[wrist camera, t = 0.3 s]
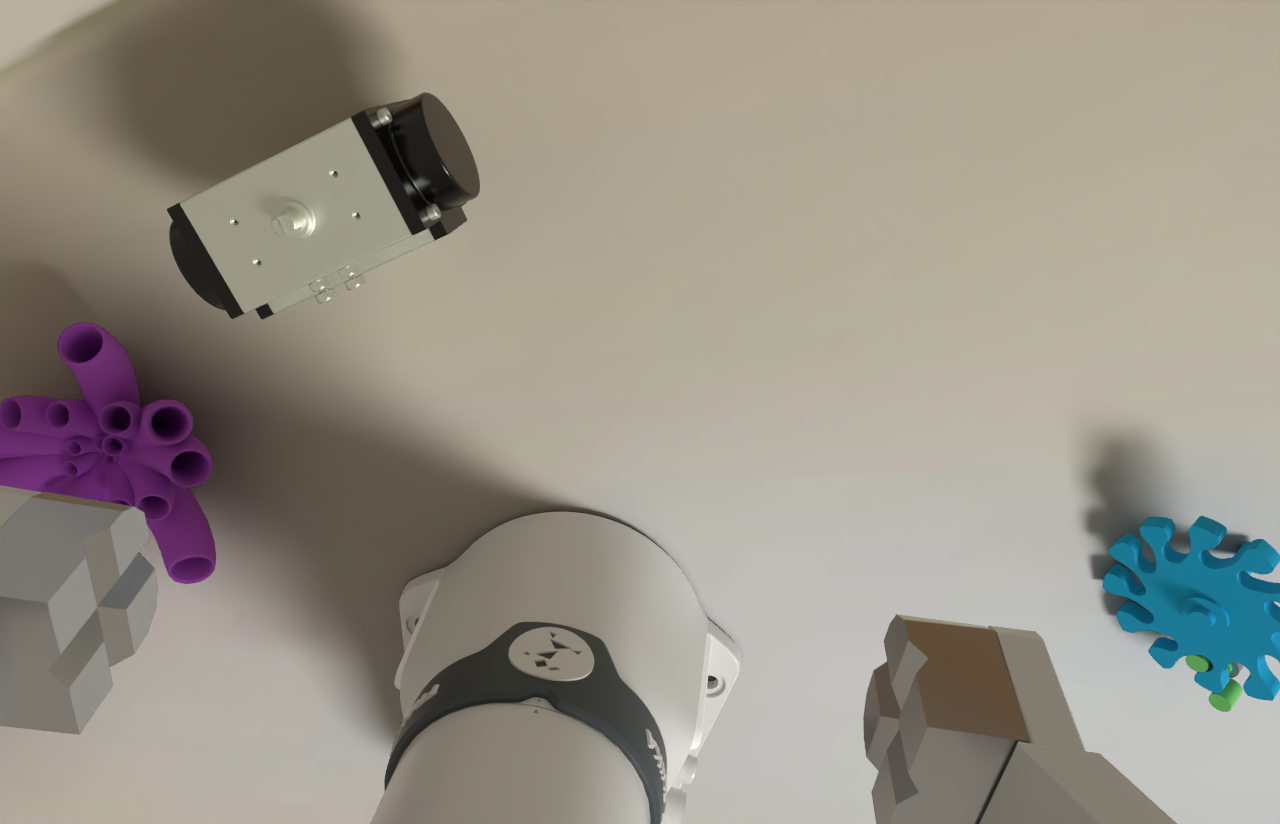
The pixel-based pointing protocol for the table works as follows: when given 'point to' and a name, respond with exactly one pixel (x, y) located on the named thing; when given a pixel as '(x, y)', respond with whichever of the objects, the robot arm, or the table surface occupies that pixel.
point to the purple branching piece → (113, 449)
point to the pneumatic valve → (326, 209)
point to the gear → (1202, 606)
